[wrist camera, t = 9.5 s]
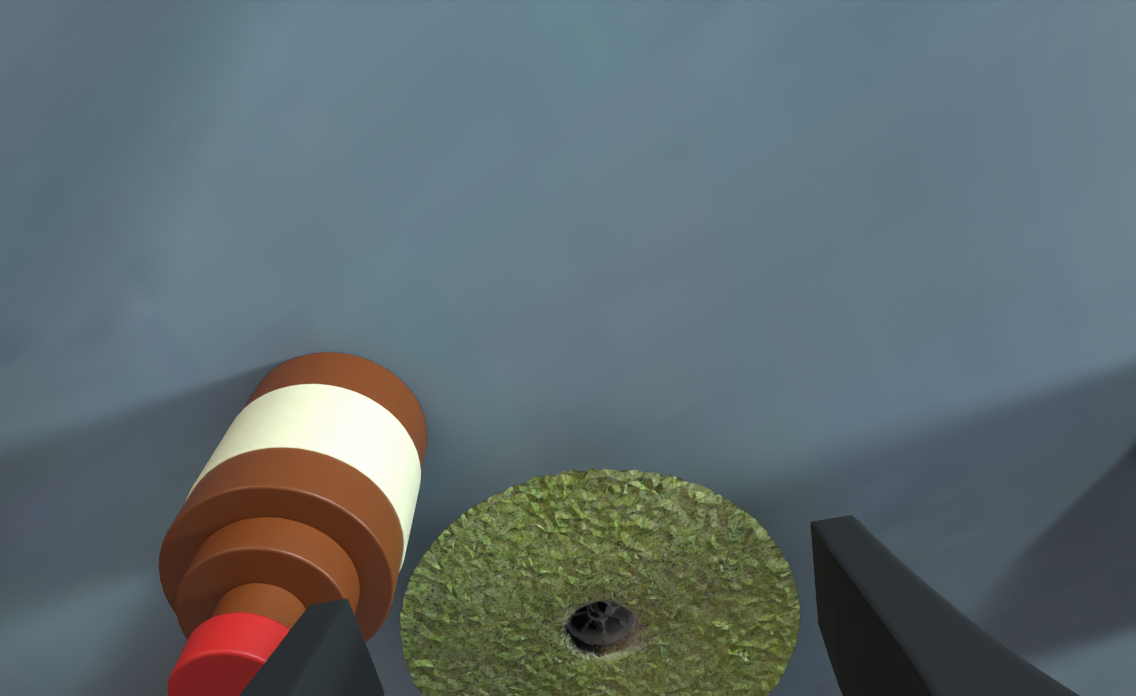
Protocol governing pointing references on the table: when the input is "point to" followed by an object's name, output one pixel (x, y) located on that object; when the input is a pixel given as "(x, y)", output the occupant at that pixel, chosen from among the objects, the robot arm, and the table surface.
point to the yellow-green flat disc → (601, 594)
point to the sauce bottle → (293, 516)
